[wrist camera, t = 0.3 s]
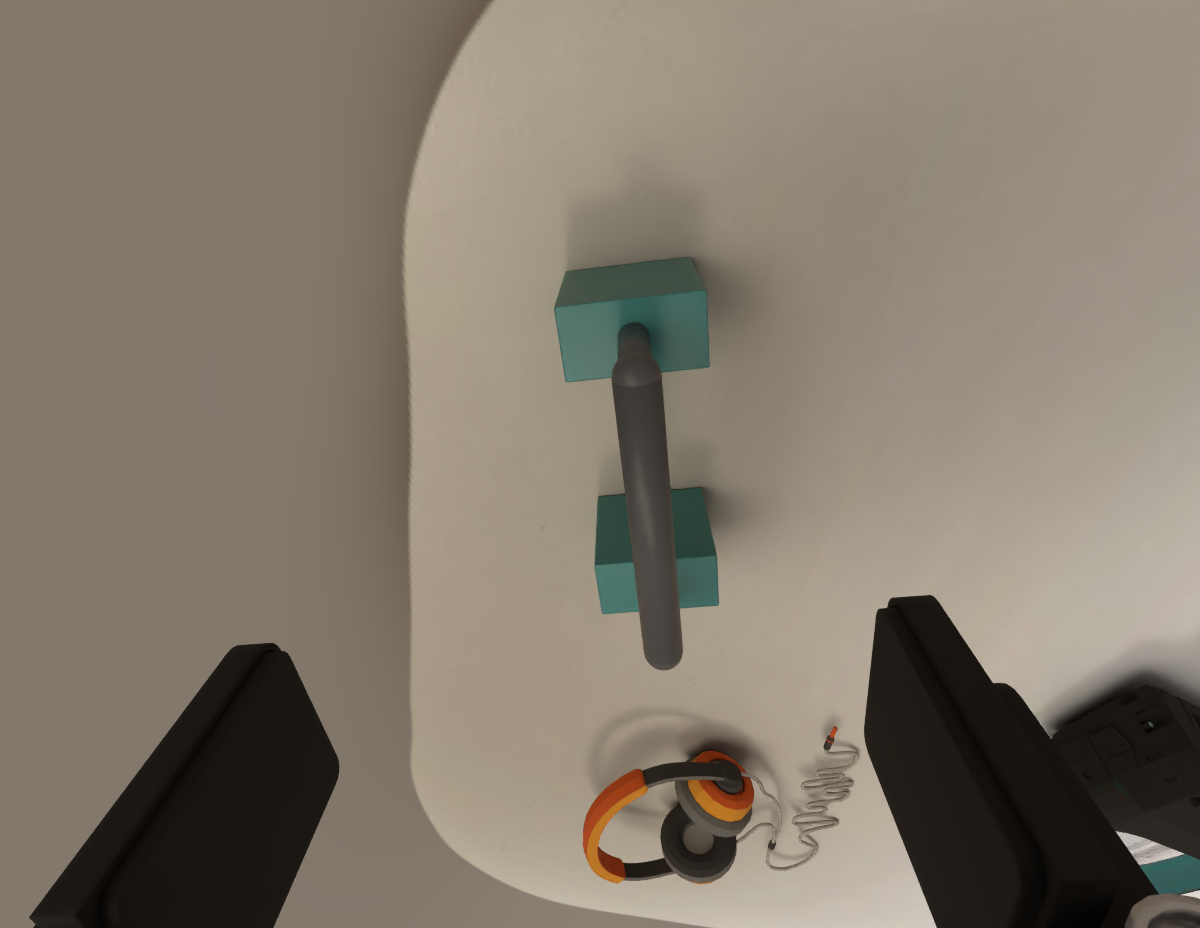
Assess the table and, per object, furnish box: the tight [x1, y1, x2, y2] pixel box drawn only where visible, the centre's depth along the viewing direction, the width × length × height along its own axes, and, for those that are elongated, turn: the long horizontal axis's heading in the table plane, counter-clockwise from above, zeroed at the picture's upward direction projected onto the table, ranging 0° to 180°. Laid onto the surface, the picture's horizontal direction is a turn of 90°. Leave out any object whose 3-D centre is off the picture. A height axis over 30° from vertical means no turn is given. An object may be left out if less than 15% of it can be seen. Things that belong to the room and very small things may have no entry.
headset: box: [554, 257, 719, 670], centre depth 27 cm, size 15×6×11 cm, turn 7°
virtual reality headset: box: [1052, 685, 1200, 895], centre depth 41 cm, size 19×22×10 cm
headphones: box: [583, 726, 859, 884], centre depth 44 cm, size 17×5×20 cm
